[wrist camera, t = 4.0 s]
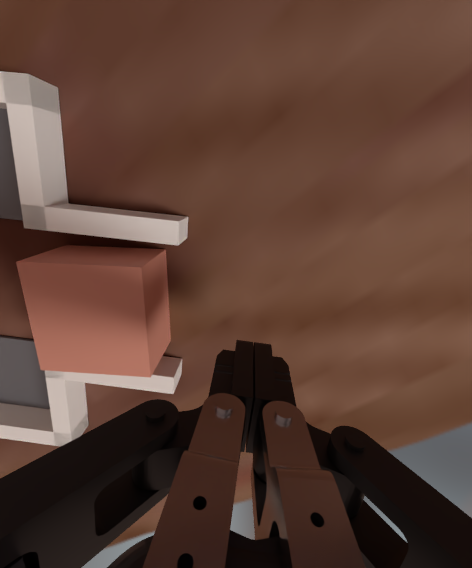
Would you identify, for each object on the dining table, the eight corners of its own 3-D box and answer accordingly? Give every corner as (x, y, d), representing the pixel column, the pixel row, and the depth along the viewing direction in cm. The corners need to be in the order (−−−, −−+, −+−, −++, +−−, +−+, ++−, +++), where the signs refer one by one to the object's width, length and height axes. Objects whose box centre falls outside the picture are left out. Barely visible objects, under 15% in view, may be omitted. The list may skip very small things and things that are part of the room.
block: (166, 248, 17) (141, 267, 13) (171, 339, 19) (150, 377, 15) (67, 244, 18) (15, 261, 14) (82, 333, 20) (40, 369, 16)
